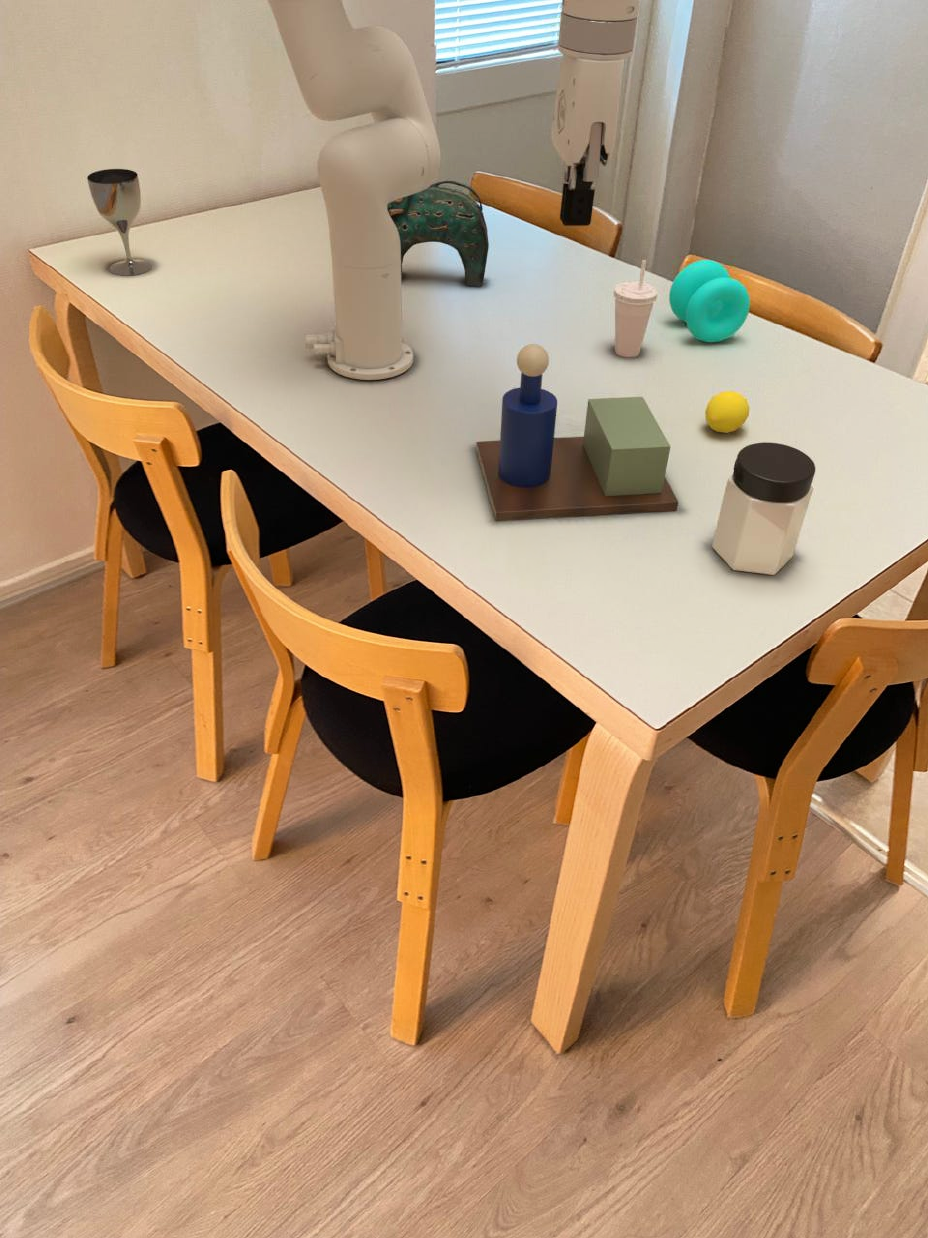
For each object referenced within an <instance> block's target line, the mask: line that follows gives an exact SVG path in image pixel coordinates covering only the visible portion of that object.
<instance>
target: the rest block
mask: <svg viewBox="0 0 928 1238" xmlns="http://www.w3.org/2000/svg"><path fill="white" fill-rule="evenodd" d="M586 406H587V407H586V415H585V422H584V423H585V424H584V431H583V437H584V439H583V446H584V448H585V450H586V453H587V455H588V457H589V460H590V462H591V464H592V467H593V469H594V471H595V474H596V476H597V478H598V480H599V483H600V485H601V487H602V490H603V492H604V494H605V496H620V495H638V494H656V493H662V489H663V484H664V478H666V472H667V468H668V467H667V466H668V463H669V457H670V453H671V445H670V443H669V441H668V439H667V438H666V435H665V434H664V432H663V430H662V428H661V427H660V425H659V422H657V420H656V418H655V416H654V414H653V412H652V411H651V408H650V407H649V404H647V402H646V400H645V398H644V397H643V396H629V397H628V396H627V397H625V396H623V397H605V398H603V397H601V398H588V399H587V405H586Z"/></svg>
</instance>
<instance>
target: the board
mask: <svg viewBox="0 0 928 1238" xmlns="http://www.w3.org/2000/svg"><path fill="white" fill-rule="evenodd" d="M583 439H584V436H569V437H566V436H565V437H554V443H553V453H552V463H551V473H550V478H549V479H548V481H546V482H545V483H544V484H542V485H539V486H535V487H518V486H514V485H511V484H508V483H506V482H505V481H503V480H502V479H501V478H500V476H499V473H498V469H499V451H500V440H483V441H476V443H475V450H476V454H477V457H478V462H479V464H480V465H479V466H480V468H481V472H482V475H483V479H484V484H485V487H486V490H487V494H488V498H489V502H490V505H491V510H492V512H493V517H494V519H495V521H497V522H498V521H513V520H532V519H549V518H566V517H567V518H569V517H582V516H599V515H600V516H601V515H616V514H617V515H618V514H634V513H635V514H636V513H652V512H653V513H655V512H669V511H670V512H671V511H677V510H678V507H679V500H678V499H677V497H676V495H675V493H674V491H673V489H672V487H671V485H670V483H669V482H668V480H667V478H666V477H665V478H664V484H663V489H662V493H656V494H638V495H620V496H605V494H604V492H603V490H602V487H601V485H600V483H599V480H598V478H597V476H596V474H595V471H594V469H593V467H592V464H591V462H590V460H589V457H588V455H587V453H586V450H585V448H584V446H583Z"/></svg>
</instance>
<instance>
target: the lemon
mask: <svg viewBox="0 0 928 1238" xmlns="http://www.w3.org/2000/svg"><path fill="white" fill-rule="evenodd" d="M704 415H705V422H706V423H707V424H708V426H709V427H710V429H712V430H713V431H715V432H716V433H726V434H727V433H732V432H734V431H737V430H738V429H740V428H741V427H742V426H743V425H744V424H745V423H746V421H747V419H748V417H749V416H750V406H749V402H748V399H747V398H746V397H745V396H744V395H742V394H741V393H740V392H737V391H734V390H725V391H723V390H722V391H721V392H719V393H717V394H715V395H713V396H712V397H711V399H710V400H709V401H708V402H707V404H706V408H705V411H704Z"/></svg>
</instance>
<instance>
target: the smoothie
mask: <svg viewBox="0 0 928 1238" xmlns="http://www.w3.org/2000/svg"><path fill="white" fill-rule="evenodd" d="M646 264H647V260H646V259H642V260H641V266H640V272H639V279H638V281H624V282H620V283H617V284H616V285H615V286H614V288H613V293H612V296H613V298H614V300H615V301H614V353H615V354H616V355H618V356H620V357H623V358H635V357H638V356H639V355H640V352H641V349H642V345H643V341H644V338H645V335H646V331H647V328H648V323H649V320H650V317H651V313H652V310H653V307H654V303H655V302H656V301H657V299H658V289H657V288H656V287H655V286H653V285H651V284H648V283H646V282H644V278H645V272H646Z"/></svg>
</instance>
